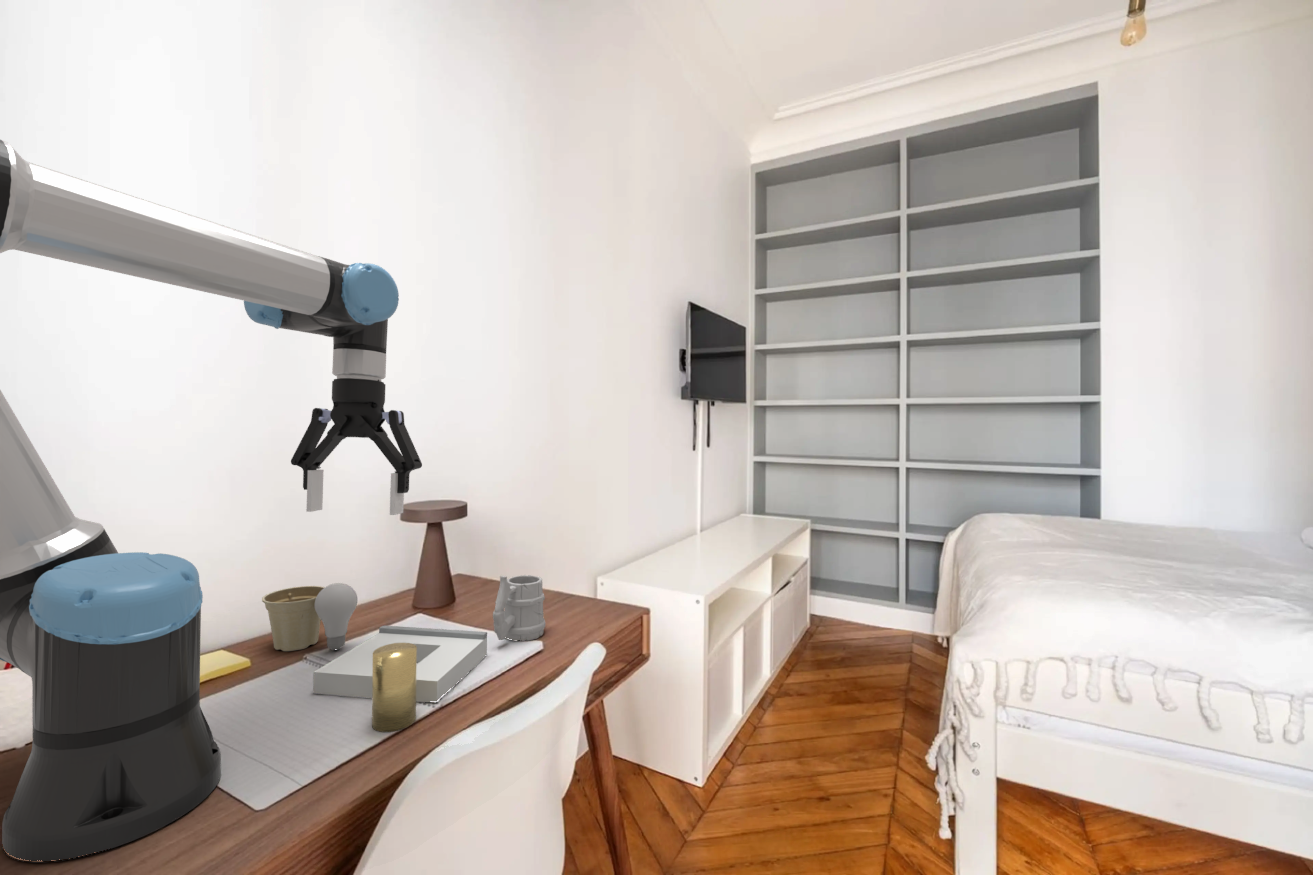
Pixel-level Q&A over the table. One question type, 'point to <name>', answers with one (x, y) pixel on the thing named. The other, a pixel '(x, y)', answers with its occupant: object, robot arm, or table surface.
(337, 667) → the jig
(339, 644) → the lightbulb
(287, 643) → the flower pot
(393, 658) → the gold cylinder
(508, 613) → the mug
